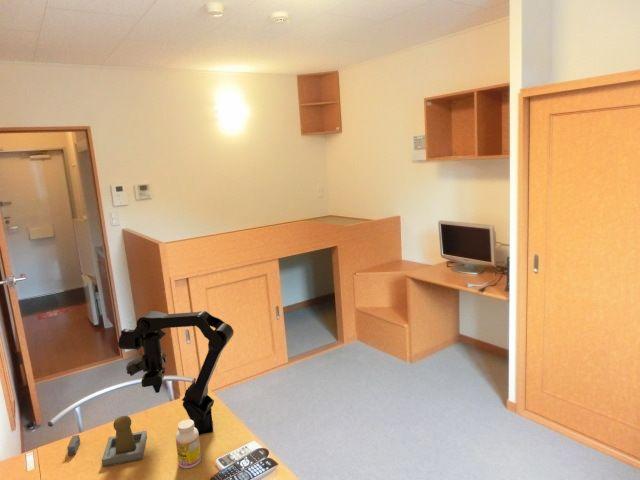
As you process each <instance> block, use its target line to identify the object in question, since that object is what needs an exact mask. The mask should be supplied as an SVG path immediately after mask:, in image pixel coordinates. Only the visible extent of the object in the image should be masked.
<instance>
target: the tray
mask: <svg viewBox="0 0 640 480" xmlns="http://www.w3.org/2000/svg"><path fill="white" fill-rule="evenodd" d="M132 434H133V437H134V441H135V444H136V449H135V451H133V452H128V453H123V454H116V435H115V436H109V437H108V440H107V443H106V446H105V448H104V451H103V455H102V458H101V465H102V468H106V467H110V466H116V465H121V464H125V463H132V462H137V461H141V460H143V459H144V455H145V450H146V446H147V445H146V444H147V439H148V435H147V430H142V431H137V432H132Z"/></svg>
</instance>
